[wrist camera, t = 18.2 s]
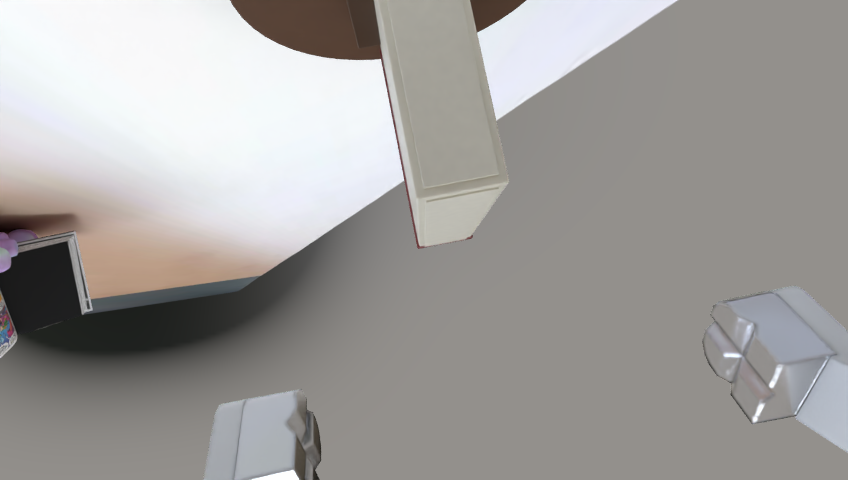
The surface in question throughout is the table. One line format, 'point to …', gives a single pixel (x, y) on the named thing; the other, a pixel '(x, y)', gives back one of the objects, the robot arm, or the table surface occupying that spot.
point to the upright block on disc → (415, 93)
